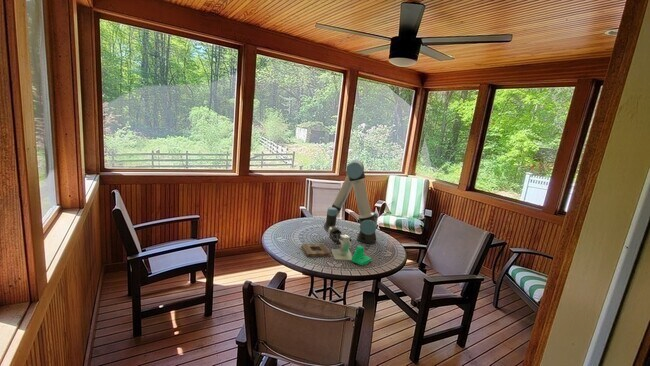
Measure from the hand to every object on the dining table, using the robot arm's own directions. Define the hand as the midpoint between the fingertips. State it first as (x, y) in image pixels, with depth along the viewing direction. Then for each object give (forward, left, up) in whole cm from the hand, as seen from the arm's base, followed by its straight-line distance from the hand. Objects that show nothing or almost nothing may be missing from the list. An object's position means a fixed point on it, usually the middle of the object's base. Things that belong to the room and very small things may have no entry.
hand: (347, 245), depth 198 cm
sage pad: (+1, -5, -9) cm, 10 cm away
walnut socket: (+19, -9, -9) cm, 23 cm away
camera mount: (-10, +4, -9) cm, 14 cm away
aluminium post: (+1, -5, -7) cm, 9 cm away
